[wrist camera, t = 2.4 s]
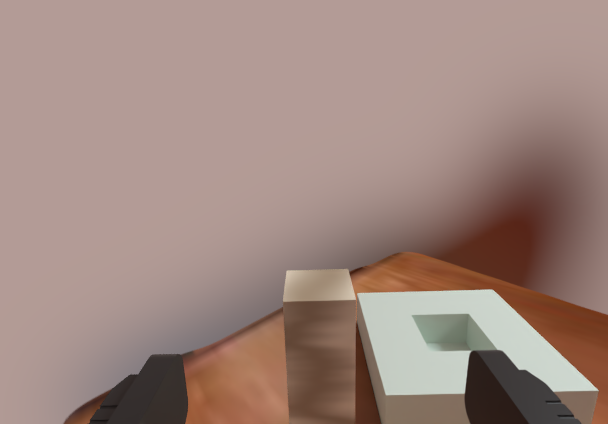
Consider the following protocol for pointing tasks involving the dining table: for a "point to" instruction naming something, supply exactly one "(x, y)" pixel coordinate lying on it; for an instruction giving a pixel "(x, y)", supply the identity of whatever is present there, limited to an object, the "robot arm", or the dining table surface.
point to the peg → (320, 346)
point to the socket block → (452, 353)
